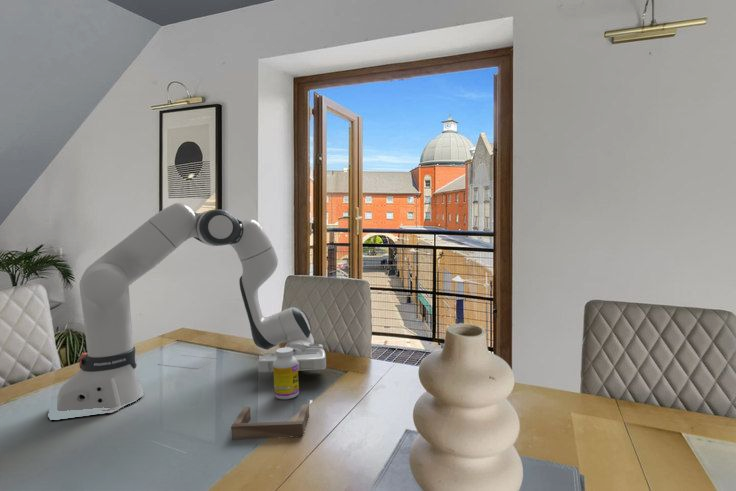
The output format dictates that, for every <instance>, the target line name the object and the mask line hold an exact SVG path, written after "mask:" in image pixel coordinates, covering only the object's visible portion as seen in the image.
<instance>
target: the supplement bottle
mask: <svg viewBox="0 0 736 491" xmlns="http://www.w3.org/2000/svg"><path fill="white" fill-rule="evenodd" d="M275 353H276V356H277V358H276V359H275V360H274V362H273V372H272V373H273V388H274V391H273V392H274V396H275V397H276V399H279V400H290V399H294V398H295V397H297V396H298V395H299V393H300V386H299V371H298V364H297V359H296V358H295V357H293V348H289V347H285V346H284V347H280V348H277V349H276V350H275Z"/></svg>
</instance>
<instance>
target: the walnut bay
mask: <svg viewBox="0 0 736 491" xmlns="http://www.w3.org/2000/svg"><path fill="white" fill-rule="evenodd" d="M309 408H310V407H309V404H305V403H304V404H302V405H301V408H300V410H299V413H298V416H297V419H296V420H289V421H265V422H263V421H262V422H260V421H259V422H250V421H251V419H252V418H251V417H252V416H251V407H250V406H243V407H242V409H241V410H240V413H238V416H237V417H236V419H235V420H234V421H233V423H232V424H231V426H230V429H231V430H230V431H231V432H230V433H231V440H251V439H255V440H256V439H278V437H285V438H291V437H290V436H303V437H304V435H305V432H304V431H306V429H305V428H307V425H308V422H307V421H309V419H308V418H310V409H309ZM303 434H304V435H303Z"/></svg>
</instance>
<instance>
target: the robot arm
mask: <svg viewBox="0 0 736 491" xmlns="http://www.w3.org/2000/svg"><path fill="white" fill-rule="evenodd" d="M191 238H194V239H195V240H197V241H199V242H201V243H203V244H205V245H208V246H212V247H221V246H228V245H230V246H231V247H232V248H233V250H234V251H235V252H236V254H237V256H238V259H239V261H240V263H241V267H242V274H241V276H240V277H239V280H238V281H239V289H240V292H241V293H240V294H241V298H242V302H243V304H244V309H245V311H246V315H247V318H248V322H249V326H250V331H251V336H252V341H253V342H254V344H255V346H256V347H258V348H260V349H263V350H271V349H272V348H274V347H276V346H278V345H279V344H282V343H284V342H287V344H285V346H284V347H289V348H293V357H295V358H296V359H297V364H298V372H300V371H301V372H302V371H323V370H325V369H327V359H326V358H327V357H326V356H327V355H326V352H325V351H326V350H324V345H323V344H321V343H315V339H314V336H313V334H312V333H311V332H312V325H311V321H310V319H309V318H308V316H307V314H306V313H305V311H303V310H301V309H300V308H298V307H296V306H291V307H289V308H286V309H283V310H281V311H279V312H277V313H274V314H271V315H270V316H266V317H265V316H263V313H262V309H261V305H260V301H259V298H258V291H259V289H260V287H261V286H263V284H264V283H265V282H266V281H268V280H269V279H270V278H271V277H272V276H273V274H274V272H276V269H277V267H278V263H279V262H278V261H279V260H278V256H277V253H276V250H275V248H274V246H273V244H272V241H271V240H270V238H269V236H268V234H267V233H266V231H265V230H264V228H263V227H262V225H261V224H260V223H259V222H258V221H257V220H255V219H251V218H246V219H242V220H240V219H238V218H237V217H236V216H234V215H233V214H232V213H230V212H229V211H227V210H226V209H219V208H217V209H209V210H206V211H203V212H196V211H194V210H193V209H192V208H191V207H190V206H189V205H187V204H184V203H181V202H176V203H173V204H171V205H169V206H167V207H165V208H163V209H162V210H160V211H158V212H157V213H155V214H154V215H153V216H151V217H150V218H148V220H146V221H145V222H144V223H143V224H141V225H140V226H138V227H137V228H136V229H135V230H134V231H132V233H130V234H129V235H127V236H126V237H125V238H124V239H123V240H121V241H120V242H119V243H117V244H116V245H115V246H114V247H111V249H110V250H108V251H107V252H105V253H104V254H103V255H102V256H101V257H99V258H97V259H96V260H95V261H94V262H92V263H91V264H90V265H89V266H88V267H87V268H86V269H85V270H84V272H83V274H82V276H81V278H80V279H79V280H80V281H79V293H80V294H79V295H80V301H81V302H80V303H81V308H82V310H81V311H82V317H83V324H84V331H85V332H84V333H85V341H86V350H87V351H86V352H83V353H81V355H80V356H79V360H78V364H79V365H78V366H79V370H78V371H77V372H76V373H75V374H73V376H71V377H70V378H69V379H68V380H67V381H66V382H64V383H63V384H62V385H61V387H60V389H59V390H58V394H57V399H56V402H57V410H58V411H67V410H69V411H70V410H83V409H93V408H103V407H104V408H110V409H108V410H102V411H110V410H115V409H117V408H119V407H120V406H122V405H124V404H127V403H129V402H132V401H134V400H137V399H138V398H140V397H141V396H142V395H143V392H144V390H143V388H142V385H141V382H140V379H139V375H138V370H137V365H138V358H137V351H136V347H135V346H134V339H133V338H134V337H133V328H132V313H131V299H130V286H131V285H132V284H133V283H134V282H136V281H137V280H139V278H141V277H142V276H144V275H146V274H148V272H150V271H151V270H153V269H154V268H155V267H156V266H157V265H160V263H162V261H164V260H165V259H166V258H167V257H168V256H170V255H171V254H172V253H173V252H174V251H175V250H176V249H177V248H179V247H180V246H181V245H182V244H183V243H184V242H186V241H187V240H189V239H191ZM276 358H277V356H276V352H269V353H266V354H263V355H262V356H261V357H260V358H259V359H258V360H257V371H258V372H259V373H273V362H274V360H275V359H276Z"/></svg>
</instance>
